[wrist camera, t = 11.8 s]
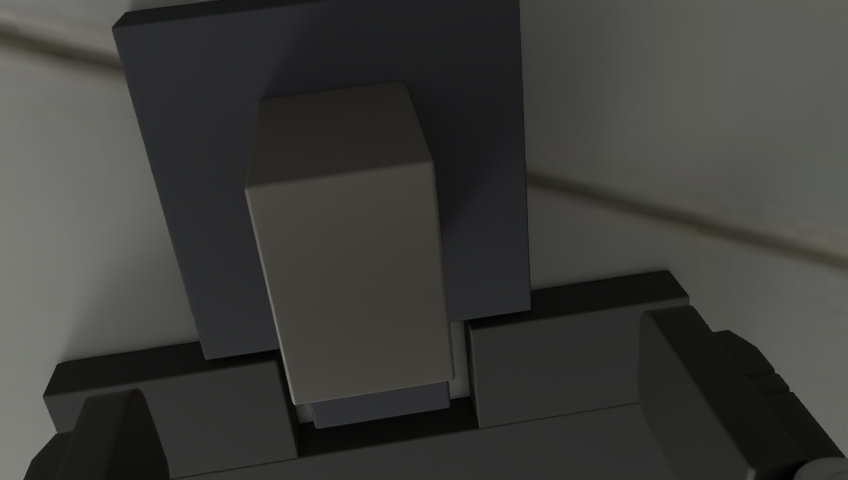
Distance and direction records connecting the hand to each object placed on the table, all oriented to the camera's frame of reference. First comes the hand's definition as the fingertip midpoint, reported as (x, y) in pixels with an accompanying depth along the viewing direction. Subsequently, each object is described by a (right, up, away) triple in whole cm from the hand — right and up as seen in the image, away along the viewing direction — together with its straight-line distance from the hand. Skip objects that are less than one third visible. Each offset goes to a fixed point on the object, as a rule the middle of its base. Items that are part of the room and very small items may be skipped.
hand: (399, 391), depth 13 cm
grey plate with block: (-2, +3, +9) cm, 10 cm away
